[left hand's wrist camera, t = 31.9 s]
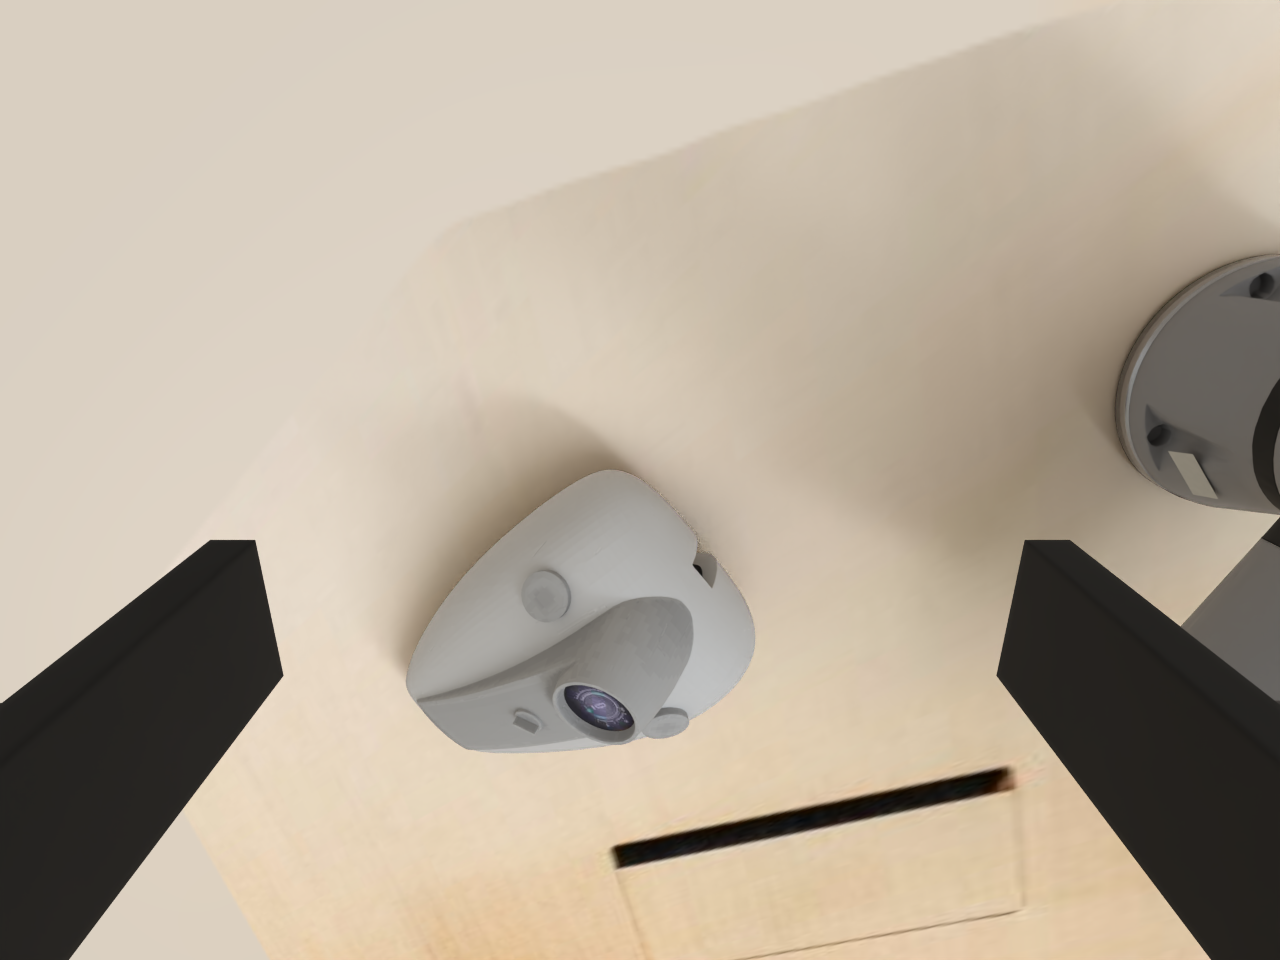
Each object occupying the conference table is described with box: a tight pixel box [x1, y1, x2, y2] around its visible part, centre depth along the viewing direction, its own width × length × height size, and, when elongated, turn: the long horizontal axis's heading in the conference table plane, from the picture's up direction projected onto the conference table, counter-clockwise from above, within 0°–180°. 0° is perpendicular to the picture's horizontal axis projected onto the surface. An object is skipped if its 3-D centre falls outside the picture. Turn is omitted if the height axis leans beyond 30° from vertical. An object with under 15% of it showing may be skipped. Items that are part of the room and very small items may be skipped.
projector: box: [406, 470, 755, 753], centre depth 43 cm, size 22×23×15 cm
